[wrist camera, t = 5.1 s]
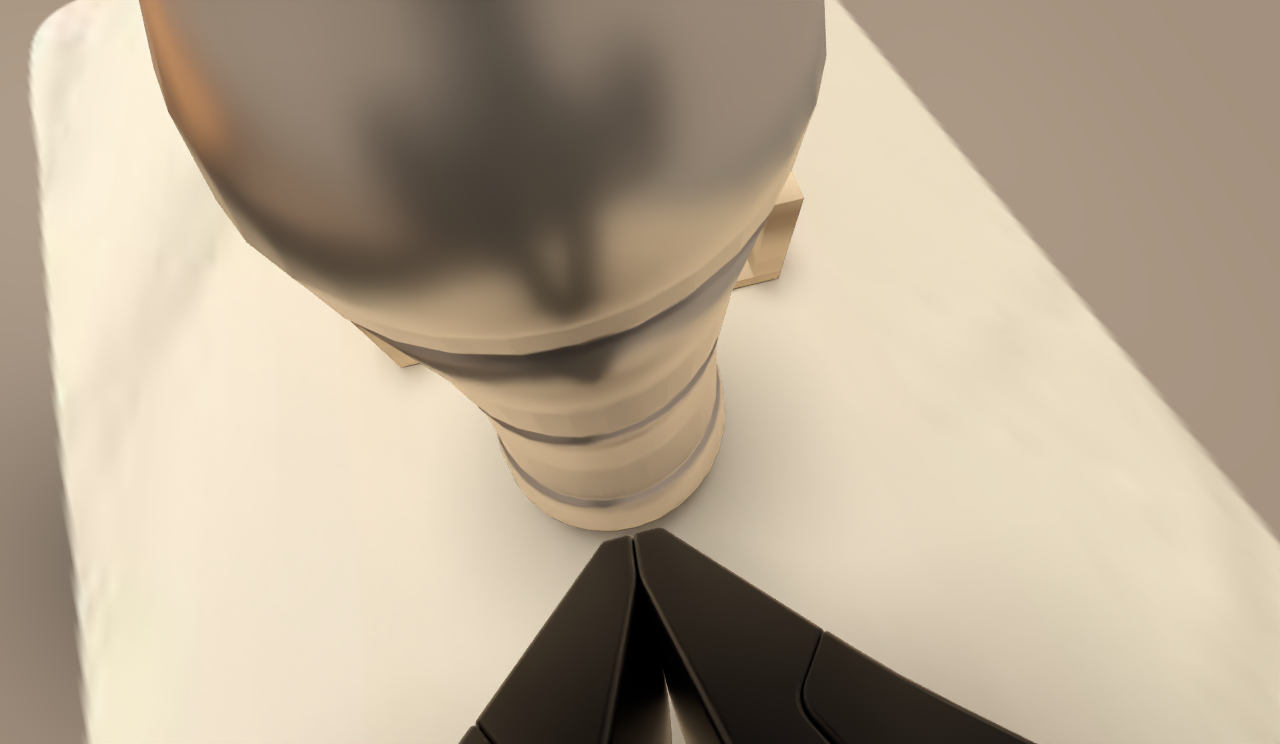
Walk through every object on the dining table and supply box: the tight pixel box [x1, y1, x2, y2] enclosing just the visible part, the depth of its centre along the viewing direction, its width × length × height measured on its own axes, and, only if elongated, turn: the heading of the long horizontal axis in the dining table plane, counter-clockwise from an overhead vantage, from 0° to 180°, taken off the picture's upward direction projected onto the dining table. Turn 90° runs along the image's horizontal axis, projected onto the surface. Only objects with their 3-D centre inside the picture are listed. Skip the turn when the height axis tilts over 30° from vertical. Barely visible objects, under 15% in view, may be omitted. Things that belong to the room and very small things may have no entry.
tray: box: [351, 170, 804, 367], centre depth 24 cm, size 23×14×4 cm, turn 14°
